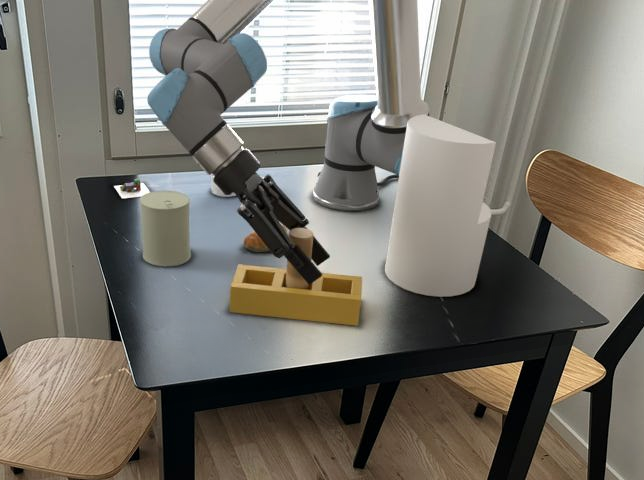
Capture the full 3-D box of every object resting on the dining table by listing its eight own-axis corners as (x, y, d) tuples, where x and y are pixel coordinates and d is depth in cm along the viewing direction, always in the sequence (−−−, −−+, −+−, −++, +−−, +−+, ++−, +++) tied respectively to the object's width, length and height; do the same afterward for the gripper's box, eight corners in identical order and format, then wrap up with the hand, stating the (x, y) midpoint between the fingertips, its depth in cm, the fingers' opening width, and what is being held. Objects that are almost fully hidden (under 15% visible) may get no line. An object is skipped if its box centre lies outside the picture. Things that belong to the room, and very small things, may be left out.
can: (150, 269, 134) (146, 209, 127) (137, 249, 140) (133, 190, 134) (197, 262, 137) (196, 203, 130) (182, 243, 144) (181, 185, 137)
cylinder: (426, 304, 128) (457, 149, 112) (366, 265, 140) (386, 119, 124) (495, 284, 136) (532, 136, 120) (432, 248, 148) (459, 109, 132)
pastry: (256, 257, 140) (256, 239, 138) (235, 245, 144) (235, 227, 142) (292, 246, 145) (294, 229, 143) (272, 235, 149) (272, 217, 147)
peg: (298, 299, 127) (304, 225, 119) (311, 309, 124) (318, 235, 117) (279, 304, 125) (284, 230, 117) (292, 314, 123) (298, 239, 115)
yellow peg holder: (237, 289, 129) (238, 264, 126) (358, 301, 128) (362, 276, 125) (229, 312, 122) (230, 286, 119) (357, 326, 121) (361, 300, 118)
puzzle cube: (137, 186, 167) (137, 176, 166) (140, 190, 165) (140, 180, 164) (119, 188, 166) (119, 178, 165) (122, 192, 164) (122, 182, 162)
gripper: (229, 157, 123) (314, 257, 130) (191, 197, 108) (290, 309, 114) (260, 130, 119) (346, 234, 126) (226, 167, 104) (326, 284, 110)
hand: (319, 269), depth 120 cm, fingers open, 6 cm apart
